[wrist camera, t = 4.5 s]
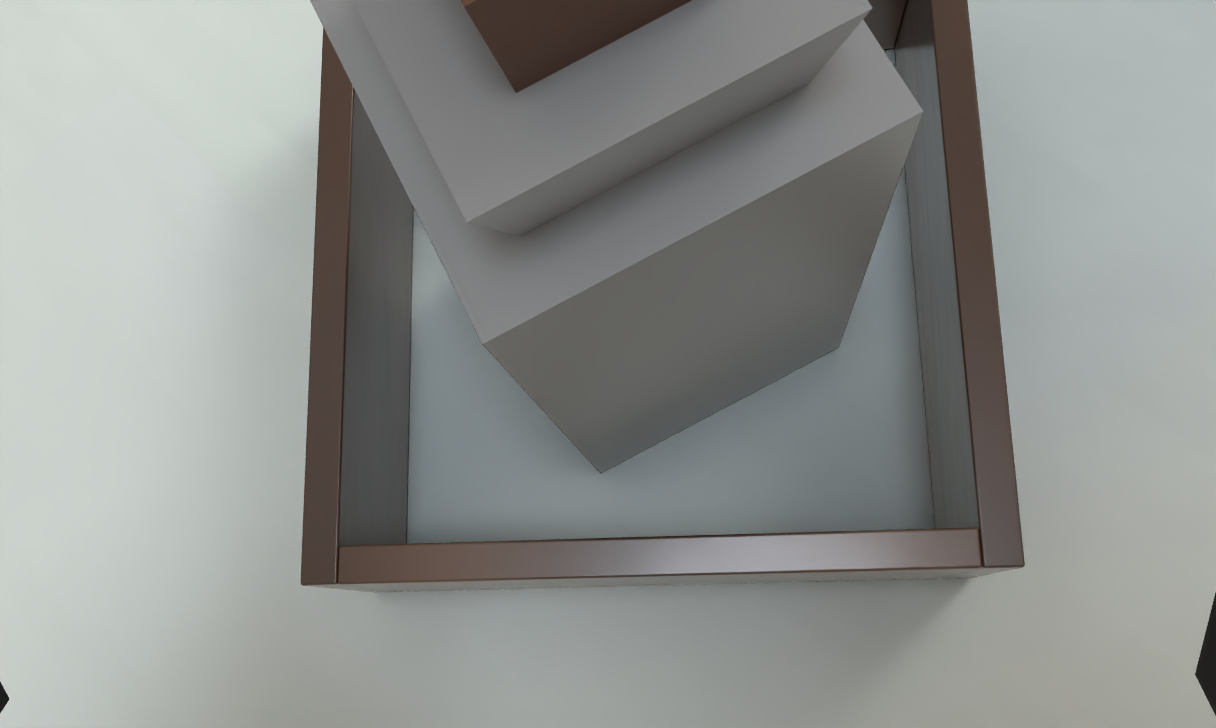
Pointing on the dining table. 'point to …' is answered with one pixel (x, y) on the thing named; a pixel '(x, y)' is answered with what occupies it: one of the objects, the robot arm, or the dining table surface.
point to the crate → (382, 561)
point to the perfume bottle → (638, 187)
